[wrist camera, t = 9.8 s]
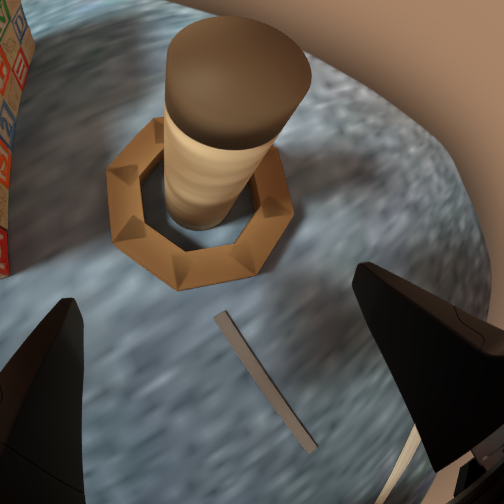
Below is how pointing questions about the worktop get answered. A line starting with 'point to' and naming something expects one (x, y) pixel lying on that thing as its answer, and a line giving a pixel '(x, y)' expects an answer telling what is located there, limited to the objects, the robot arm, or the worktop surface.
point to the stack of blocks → (10, 100)
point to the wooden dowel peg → (224, 111)
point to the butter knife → (401, 464)
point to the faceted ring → (204, 260)
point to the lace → (263, 381)
